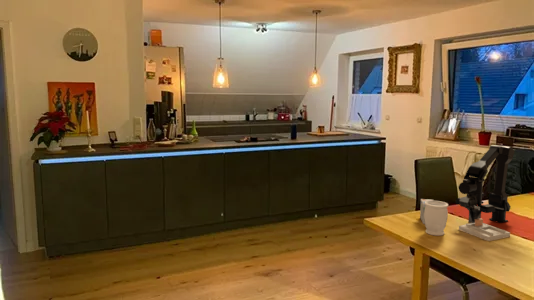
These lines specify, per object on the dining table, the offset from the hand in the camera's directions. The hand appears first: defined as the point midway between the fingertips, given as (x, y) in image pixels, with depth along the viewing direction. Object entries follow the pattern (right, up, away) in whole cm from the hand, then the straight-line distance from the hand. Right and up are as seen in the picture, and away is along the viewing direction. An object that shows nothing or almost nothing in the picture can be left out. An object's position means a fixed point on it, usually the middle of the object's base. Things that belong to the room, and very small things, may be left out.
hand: (473, 221), depth 204 cm
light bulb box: (-17, -2, +14) cm, 22 cm away
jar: (-21, -5, -4) cm, 22 cm away
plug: (+6, -2, +10) cm, 12 cm away
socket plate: (+2, -5, -5) cm, 7 cm away
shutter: (+1, -2, -2) cm, 3 cm away
